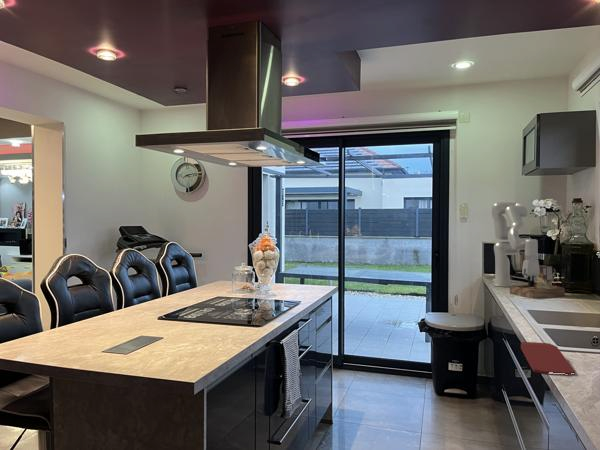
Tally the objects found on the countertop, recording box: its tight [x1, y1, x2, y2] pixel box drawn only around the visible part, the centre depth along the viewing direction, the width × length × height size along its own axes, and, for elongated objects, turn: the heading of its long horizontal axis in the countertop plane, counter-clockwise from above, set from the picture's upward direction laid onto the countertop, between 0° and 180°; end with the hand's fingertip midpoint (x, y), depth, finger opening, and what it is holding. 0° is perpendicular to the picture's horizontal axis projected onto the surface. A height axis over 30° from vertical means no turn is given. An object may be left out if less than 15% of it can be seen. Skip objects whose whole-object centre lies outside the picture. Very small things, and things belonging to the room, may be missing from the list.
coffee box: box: [535, 264, 554, 286], centre depth 310 cm, size 9×6×16 cm
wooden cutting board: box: [509, 284, 566, 299], centre depth 291 cm, size 18×26×5 cm
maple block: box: [531, 281, 544, 289], centre depth 296 cm, size 5×5×4 cm
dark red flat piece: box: [520, 341, 576, 375], centre depth 161 cm, size 12×5×25 cm
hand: (531, 286), depth 295 cm, fingers closed
